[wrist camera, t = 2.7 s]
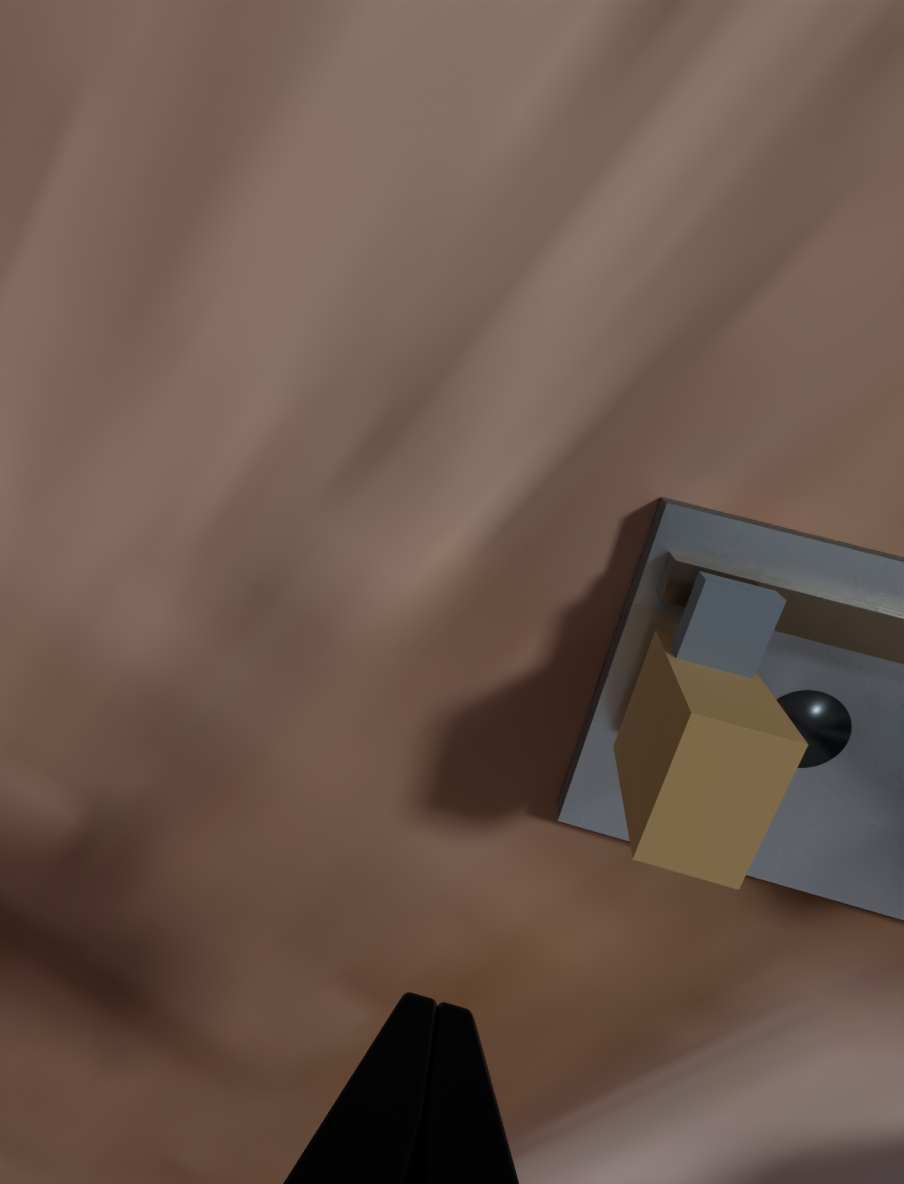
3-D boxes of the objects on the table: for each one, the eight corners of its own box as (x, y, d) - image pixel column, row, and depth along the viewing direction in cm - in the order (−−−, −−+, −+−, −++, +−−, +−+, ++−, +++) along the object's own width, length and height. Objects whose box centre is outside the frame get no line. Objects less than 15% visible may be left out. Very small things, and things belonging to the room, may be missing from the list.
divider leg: (692, 766, 20) (739, 890, 15) (612, 743, 20) (632, 859, 15) (769, 579, 18) (852, 652, 13) (680, 556, 18) (729, 619, 13)
